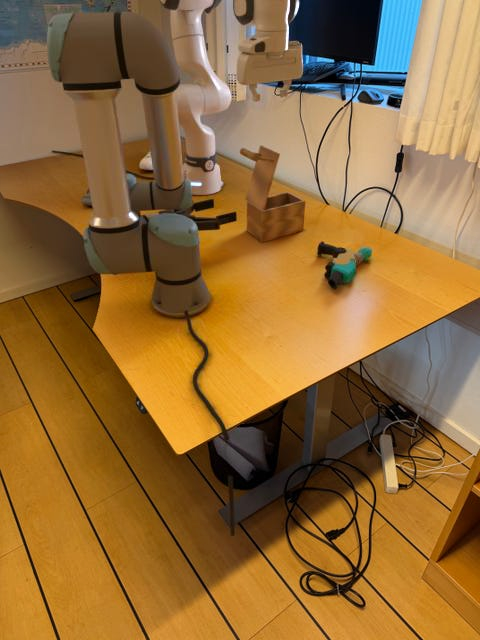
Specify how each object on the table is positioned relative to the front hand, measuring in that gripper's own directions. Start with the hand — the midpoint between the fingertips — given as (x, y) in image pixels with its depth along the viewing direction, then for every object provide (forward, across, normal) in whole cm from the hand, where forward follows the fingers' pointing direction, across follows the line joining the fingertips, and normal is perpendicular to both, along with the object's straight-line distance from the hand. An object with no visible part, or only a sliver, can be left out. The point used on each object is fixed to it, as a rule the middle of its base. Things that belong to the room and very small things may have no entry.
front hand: (224, 209), depth 146 cm
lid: (+13, +1, +8) cm, 15 cm away
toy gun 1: (-20, -54, -10) cm, 59 cm away
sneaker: (+15, -85, -8) cm, 87 cm away
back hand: (+15, +2, +30) cm, 34 cm away
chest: (+19, +1, -11) cm, 22 cm away
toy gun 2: (+18, +32, -12) cm, 39 cm away
